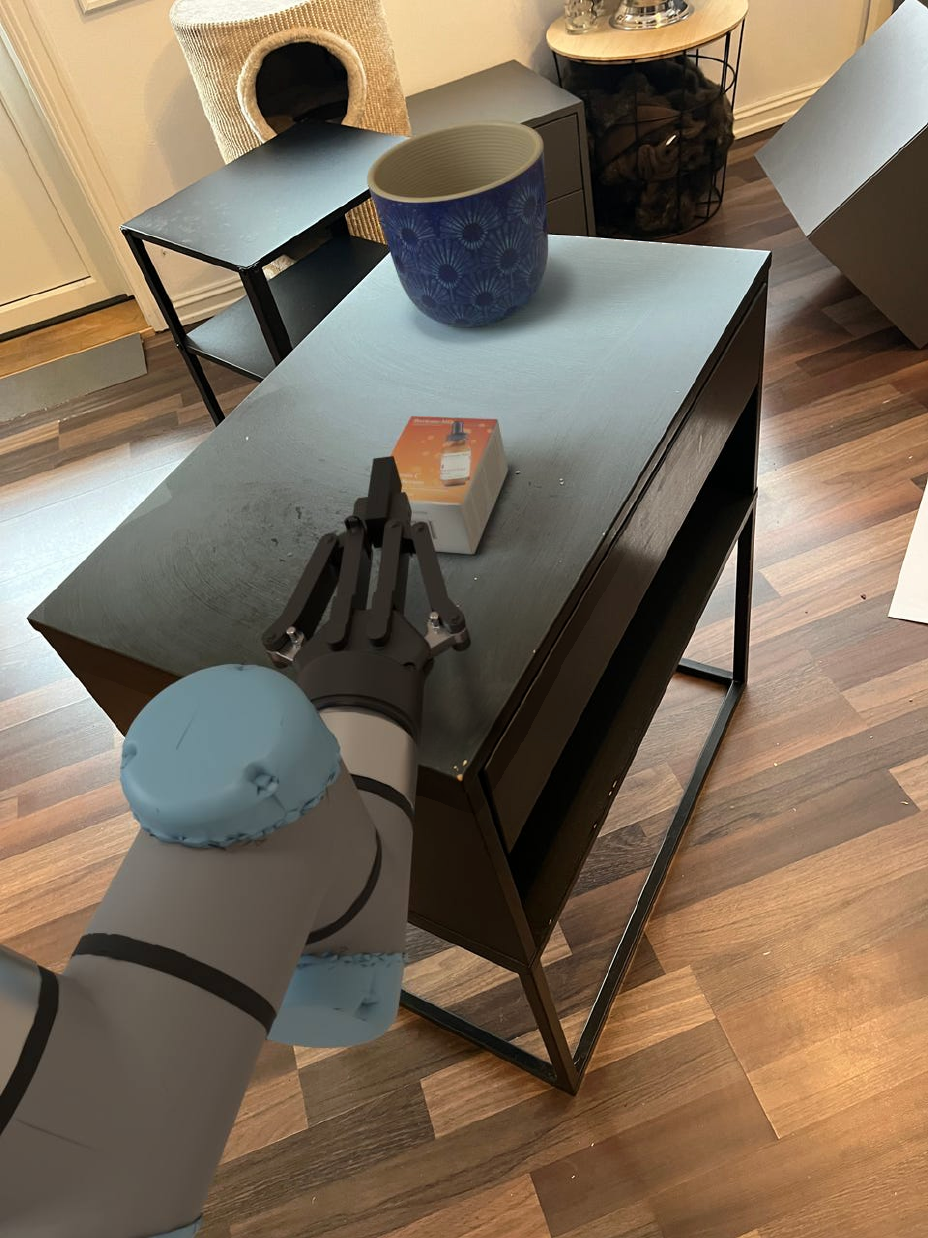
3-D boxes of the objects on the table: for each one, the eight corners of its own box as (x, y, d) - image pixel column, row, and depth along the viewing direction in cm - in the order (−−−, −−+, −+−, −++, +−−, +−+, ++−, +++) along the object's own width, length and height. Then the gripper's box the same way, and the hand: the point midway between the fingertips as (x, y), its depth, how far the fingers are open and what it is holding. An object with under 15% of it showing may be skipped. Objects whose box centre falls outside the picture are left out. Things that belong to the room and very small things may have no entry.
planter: (442, 369, 92) (407, 219, 80) (379, 302, 103) (341, 162, 92) (591, 305, 94) (577, 151, 83) (514, 247, 106) (492, 104, 94)
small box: (364, 498, 71) (408, 413, 78) (383, 549, 76) (422, 465, 82) (462, 503, 69) (499, 416, 75) (476, 556, 73) (509, 469, 79)
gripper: (263, 787, 55) (317, 520, 71) (479, 771, 53) (485, 500, 69) (216, 713, 50) (285, 441, 65) (455, 692, 48) (467, 417, 63)
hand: (387, 471), depth 67 cm, fingers closed
